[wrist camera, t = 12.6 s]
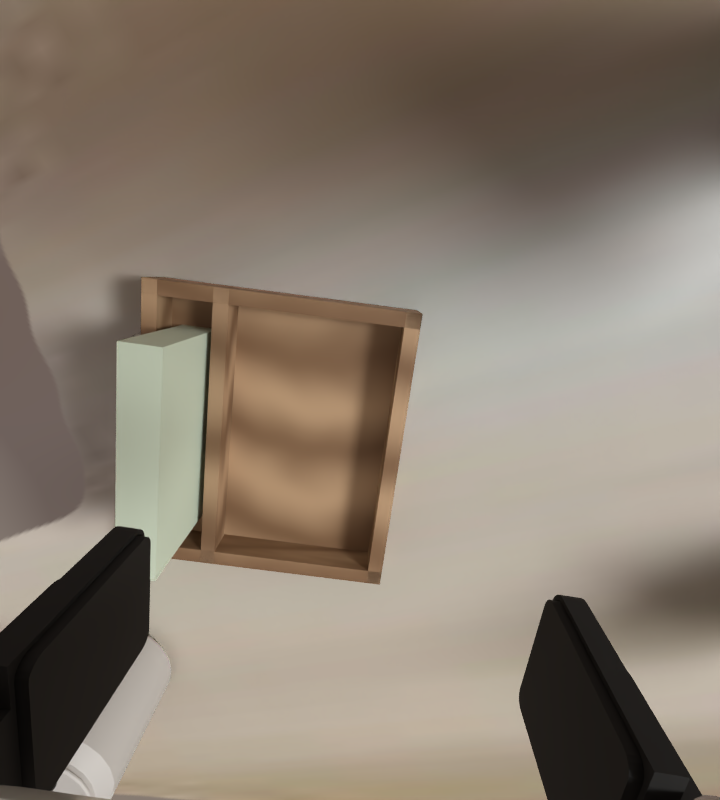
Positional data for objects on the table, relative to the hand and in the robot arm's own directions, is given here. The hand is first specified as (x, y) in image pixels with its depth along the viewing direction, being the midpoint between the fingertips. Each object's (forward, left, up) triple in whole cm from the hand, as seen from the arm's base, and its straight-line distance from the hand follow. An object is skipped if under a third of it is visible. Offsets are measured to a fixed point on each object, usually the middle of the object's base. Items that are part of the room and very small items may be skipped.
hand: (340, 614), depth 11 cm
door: (+4, -12, -24) cm, 27 cm away
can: (+27, -17, -25) cm, 41 cm away
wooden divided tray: (+4, -6, -25) cm, 26 cm away
